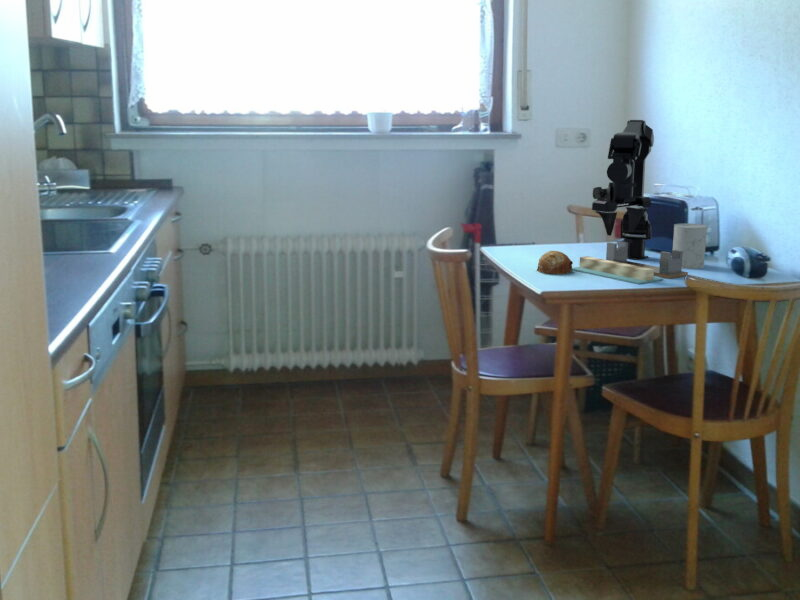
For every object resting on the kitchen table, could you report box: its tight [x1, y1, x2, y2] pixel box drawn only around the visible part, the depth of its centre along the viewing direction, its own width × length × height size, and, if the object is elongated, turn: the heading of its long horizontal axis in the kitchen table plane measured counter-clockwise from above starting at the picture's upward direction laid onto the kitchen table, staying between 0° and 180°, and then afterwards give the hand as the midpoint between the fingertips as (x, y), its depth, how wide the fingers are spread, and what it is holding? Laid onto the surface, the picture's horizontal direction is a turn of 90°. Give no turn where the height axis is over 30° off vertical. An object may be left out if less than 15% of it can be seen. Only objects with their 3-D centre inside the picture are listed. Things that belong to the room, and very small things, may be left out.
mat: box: [571, 266, 664, 285], centre depth 254 cm, size 10×26×1 cm, turn 35°
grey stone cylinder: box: [672, 222, 708, 270], centre depth 266 cm, size 10×10×12 cm
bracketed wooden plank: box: [605, 240, 689, 280], centre depth 260 cm, size 26×8×7 cm, turn 35°
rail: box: [579, 255, 655, 281], centre depth 253 cm, size 25×3×3 cm, turn 35°
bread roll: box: [536, 250, 574, 275], centre depth 258 cm, size 10×10×8 cm
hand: (620, 233), depth 253 cm, fingers open, 9 cm apart
